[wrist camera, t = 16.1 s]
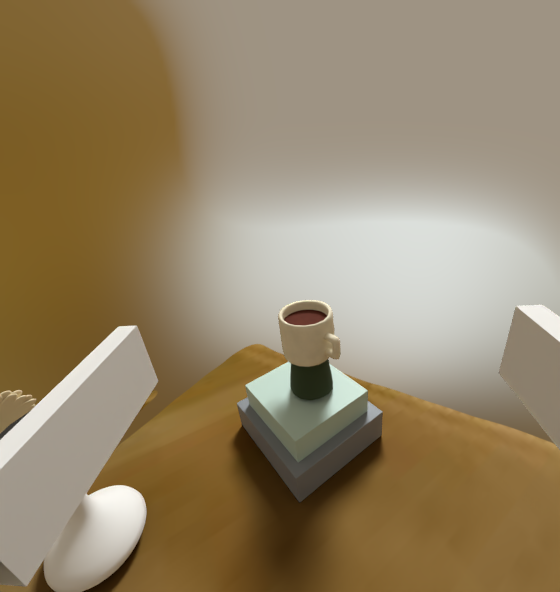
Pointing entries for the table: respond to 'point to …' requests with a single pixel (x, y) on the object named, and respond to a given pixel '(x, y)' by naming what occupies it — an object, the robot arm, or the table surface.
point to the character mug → (309, 347)
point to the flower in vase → (86, 524)
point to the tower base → (320, 457)
